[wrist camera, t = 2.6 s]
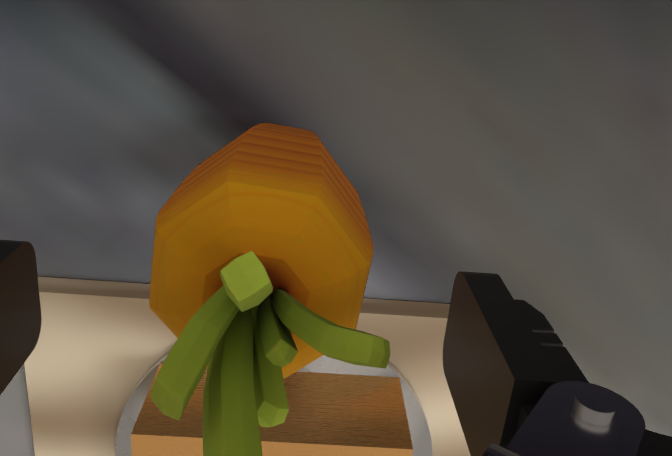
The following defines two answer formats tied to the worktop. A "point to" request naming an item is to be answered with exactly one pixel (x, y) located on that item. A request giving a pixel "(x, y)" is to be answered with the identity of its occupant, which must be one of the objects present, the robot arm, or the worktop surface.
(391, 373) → the socket collar
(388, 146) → the worktop surface
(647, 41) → the worktop surface
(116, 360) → the base board
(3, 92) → the worktop surface
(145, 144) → the worktop surface
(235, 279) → the carrot
